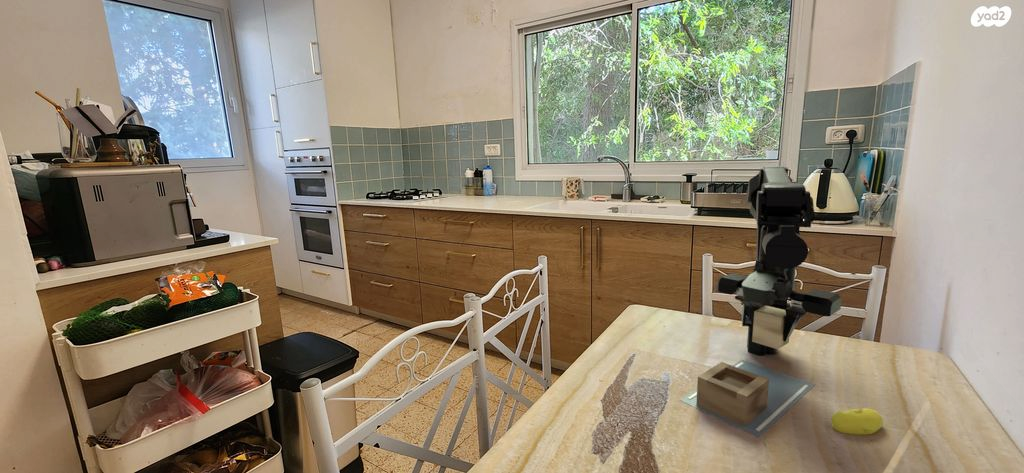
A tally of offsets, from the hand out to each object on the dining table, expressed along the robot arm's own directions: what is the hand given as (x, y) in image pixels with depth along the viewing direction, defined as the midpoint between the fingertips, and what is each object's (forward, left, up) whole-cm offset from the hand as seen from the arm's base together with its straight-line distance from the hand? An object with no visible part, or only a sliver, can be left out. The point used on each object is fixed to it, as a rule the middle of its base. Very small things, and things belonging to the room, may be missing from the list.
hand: (770, 336), depth 79 cm
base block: (+14, 0, -8) cm, 16 cm away
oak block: (0, 0, -1) cm, 1 cm away
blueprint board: (+7, 0, -9) cm, 12 cm away
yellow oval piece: (+5, +15, -10) cm, 18 cm away
